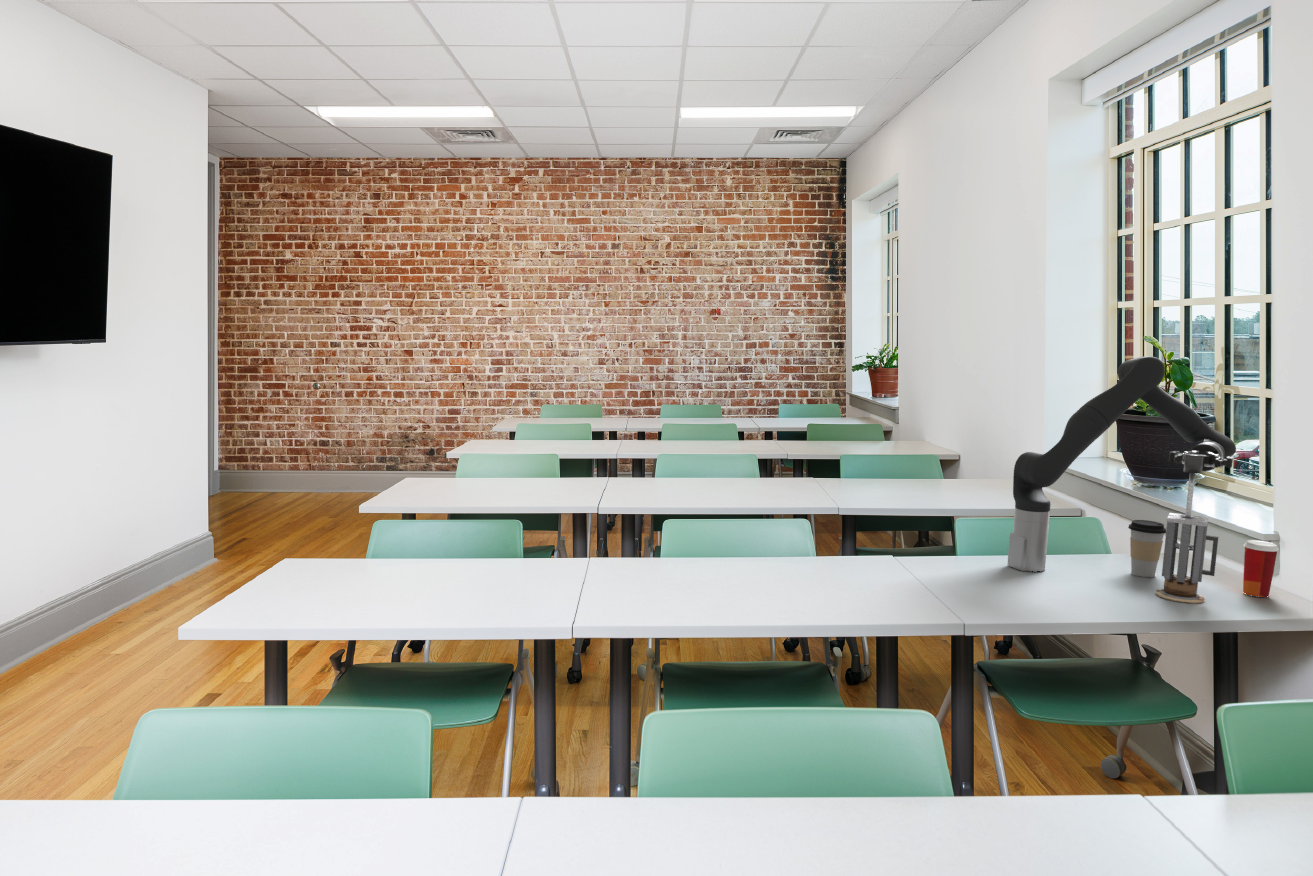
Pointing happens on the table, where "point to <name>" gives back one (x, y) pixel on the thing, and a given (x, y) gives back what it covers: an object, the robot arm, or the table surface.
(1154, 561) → the coffee cup
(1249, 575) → the paper cup
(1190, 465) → the plunger
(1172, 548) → the press frame
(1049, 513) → the robot arm
